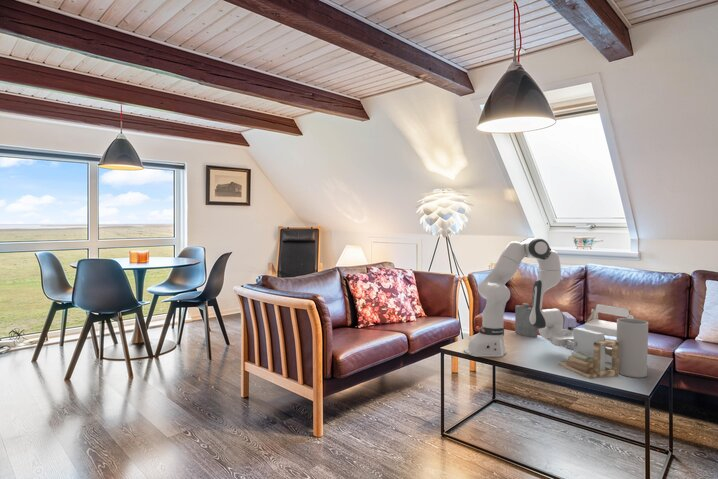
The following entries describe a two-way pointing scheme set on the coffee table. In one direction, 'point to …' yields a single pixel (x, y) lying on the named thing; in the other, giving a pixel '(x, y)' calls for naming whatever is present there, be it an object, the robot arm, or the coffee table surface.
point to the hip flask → (524, 321)
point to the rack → (596, 361)
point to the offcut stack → (581, 362)
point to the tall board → (589, 343)
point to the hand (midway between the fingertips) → (580, 344)
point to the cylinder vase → (632, 347)
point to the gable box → (606, 323)
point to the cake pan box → (569, 325)
